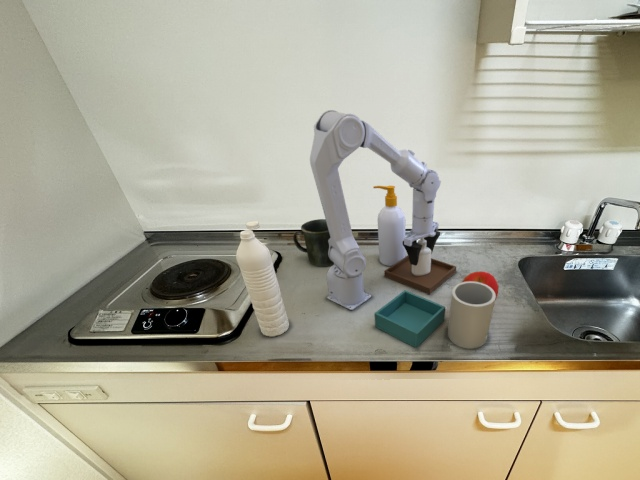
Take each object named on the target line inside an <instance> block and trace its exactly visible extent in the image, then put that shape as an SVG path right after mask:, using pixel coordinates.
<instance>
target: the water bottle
mask: <svg viewBox="0 0 640 480" xmlns="http://www.w3.org/2000/svg"><path fill="white" fill-rule="evenodd" d="M245 226H246V229H245V230H242V231H240V232H239V234H240V237H239V238H240V242H239V244H238V247H237V250H236V252H235V260H236V262H237V265H238V267H239V270H240V273H241V276H242V278H243V283H244V284H245V287H246V291H247V294H248V297H249V300H250V303H251V304H252V308H253V310H254V314H255V317H256V321H257V323H258V327H259V329H260V331H261V334H262V335H263V336H265V337H277V336H280V335H283V334H284V333H286V332H287V331H288V330H289V328H290V322H289V317H288V315H287V311H286V310H287V309H286V306H285V304H284V299H283V297H282V292H281V290H280V284H279V281H278V278H277V274H276V271H275V267H274V264H273V263H274V262H273V260H272V255H271V251H270V250H269V248H268V246H267V245H265V244H264V243H263V242H261V241H260V240H259V239H258V238H257V237H255V236H256V234H255V233H254V231H253V230H258V229H260V226H261V225H260V222H259V221H257V220H251V221H247V222H246V223H245Z"/></svg>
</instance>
